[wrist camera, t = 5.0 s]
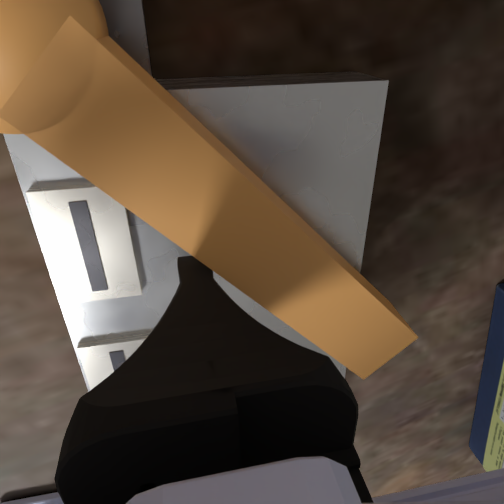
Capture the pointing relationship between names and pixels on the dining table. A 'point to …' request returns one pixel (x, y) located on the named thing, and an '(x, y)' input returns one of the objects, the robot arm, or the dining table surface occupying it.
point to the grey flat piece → (128, 28)
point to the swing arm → (181, 178)
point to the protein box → (491, 394)
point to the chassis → (166, 252)
